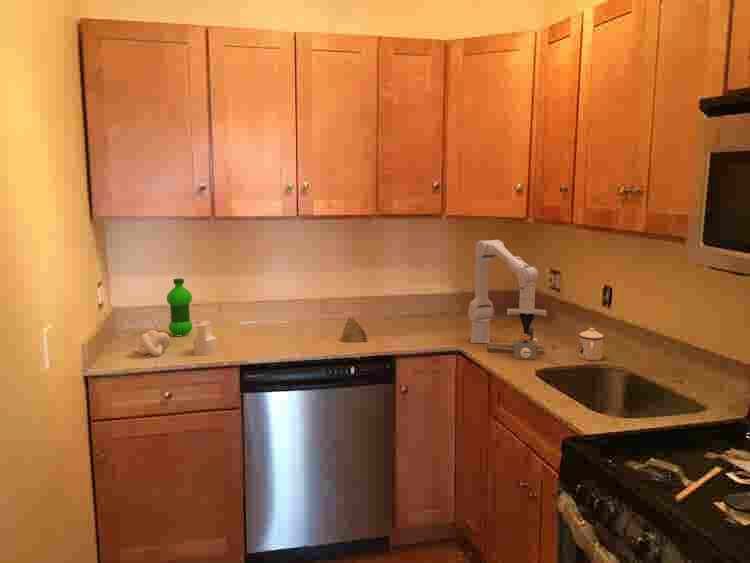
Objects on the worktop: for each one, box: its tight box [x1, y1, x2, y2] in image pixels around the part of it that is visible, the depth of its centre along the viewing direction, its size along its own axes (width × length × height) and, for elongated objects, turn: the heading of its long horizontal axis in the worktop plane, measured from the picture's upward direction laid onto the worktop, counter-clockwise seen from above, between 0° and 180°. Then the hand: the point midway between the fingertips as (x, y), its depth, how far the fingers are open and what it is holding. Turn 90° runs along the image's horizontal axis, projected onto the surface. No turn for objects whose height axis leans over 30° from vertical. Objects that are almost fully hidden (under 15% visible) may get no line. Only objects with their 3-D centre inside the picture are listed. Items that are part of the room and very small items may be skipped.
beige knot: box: [138, 329, 171, 357], centre depth 247 cm, size 11×12×9 cm
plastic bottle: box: [166, 278, 193, 337], centre depth 276 cm, size 10×10×25 cm
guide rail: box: [489, 341, 543, 348], centre depth 254 cm, size 2×21×1 cm, turn 81°
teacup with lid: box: [578, 327, 605, 361], centre depth 242 cm, size 12×9×12 cm
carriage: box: [526, 326, 539, 348], centre depth 252 cm, size 6×6×8 cm
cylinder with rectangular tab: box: [192, 320, 218, 357], centre depth 248 cm, size 9×9×12 cm
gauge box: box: [513, 339, 537, 360], centre depth 244 cm, size 7×8×6 cm
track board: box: [487, 343, 546, 355], centre depth 254 cm, size 9×22×2 cm, turn 81°
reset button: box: [520, 334, 530, 343], centre depth 243 cm, size 4×4×2 cm
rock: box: [340, 317, 368, 343], centre depth 267 cm, size 11×9×10 cm
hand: (525, 333), depth 243 cm, fingers closed
